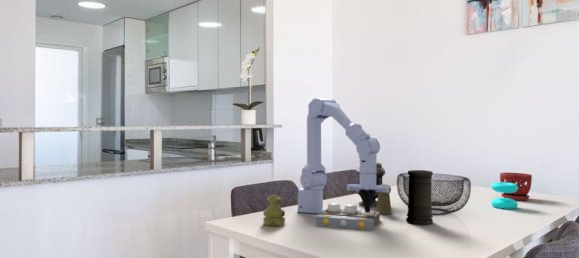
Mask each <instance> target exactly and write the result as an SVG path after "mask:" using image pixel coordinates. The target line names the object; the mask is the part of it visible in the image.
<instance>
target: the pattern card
mask: <svg viewBox="0 0 579 258" xmlns="http://www.w3.org/2000/svg"><path fill="white" fill-rule="evenodd" d="M315 226H318V227H320V226H321V227H329V228H330V227H331V228H342V229H343V228H344V229H351V230H352V229H353V230H362V231H363V230H364V231H365V230H366V231H373V230H374V229H375V226H374V219H372V218H360V217H348V216H336V215H323V214H317V215H315Z"/></svg>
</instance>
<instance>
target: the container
mask: <svg viewBox="0 0 579 258" xmlns="http://www.w3.org/2000/svg"><path fill="white" fill-rule="evenodd" d="M407 174H408V182H407V184H408V192H407V193H408V194H407V195H408V196H407V197H408V199H407V200H408V201H407V214H406V216H407V217H406V218H405V220H406V223H407V224H411V225H416V226H429V225H433V223H434V220H433V217H434V216H433V214H432V213H433V212H432V211H433V210H432V209H433V207H432V185H433V184H432V183H433V182H432V179H433V177H432V176H433V174H434V173H433V171H431V170H425V169H424V170H422V169H412V170H411V169H410V170H408V171H407Z"/></svg>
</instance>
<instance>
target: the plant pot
mask: <svg viewBox="0 0 579 258" xmlns="http://www.w3.org/2000/svg"><path fill="white" fill-rule="evenodd" d="M532 177H533V175H532V174H529V173H522V172H521V173H520V172H500V173H499V179H500V181H499V182H505V183H513V184H516V185H517V186H518V190H517V191H516V192H513V193H501V194H500V195H501V196H502V197H501V198H503V197H504V198H509V199H513V200H515V201H517V200H518V201H526V199H527V200H529V198H530V195H528V194H529V192H530V191H531V188H532V180H533V179H532Z"/></svg>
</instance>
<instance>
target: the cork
mask: <svg viewBox="0 0 579 258" xmlns="http://www.w3.org/2000/svg"><path fill="white" fill-rule="evenodd" d="M379 186H389V193H386V192H378V198H377V199H376V201H377V206H375V207H376V208H375V212H380V215H381V216H390V215H392V214H393V213H392V206H391V197H390V193H391V191H392V188H391V186H390V185H388V184H382V185H379Z"/></svg>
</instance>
